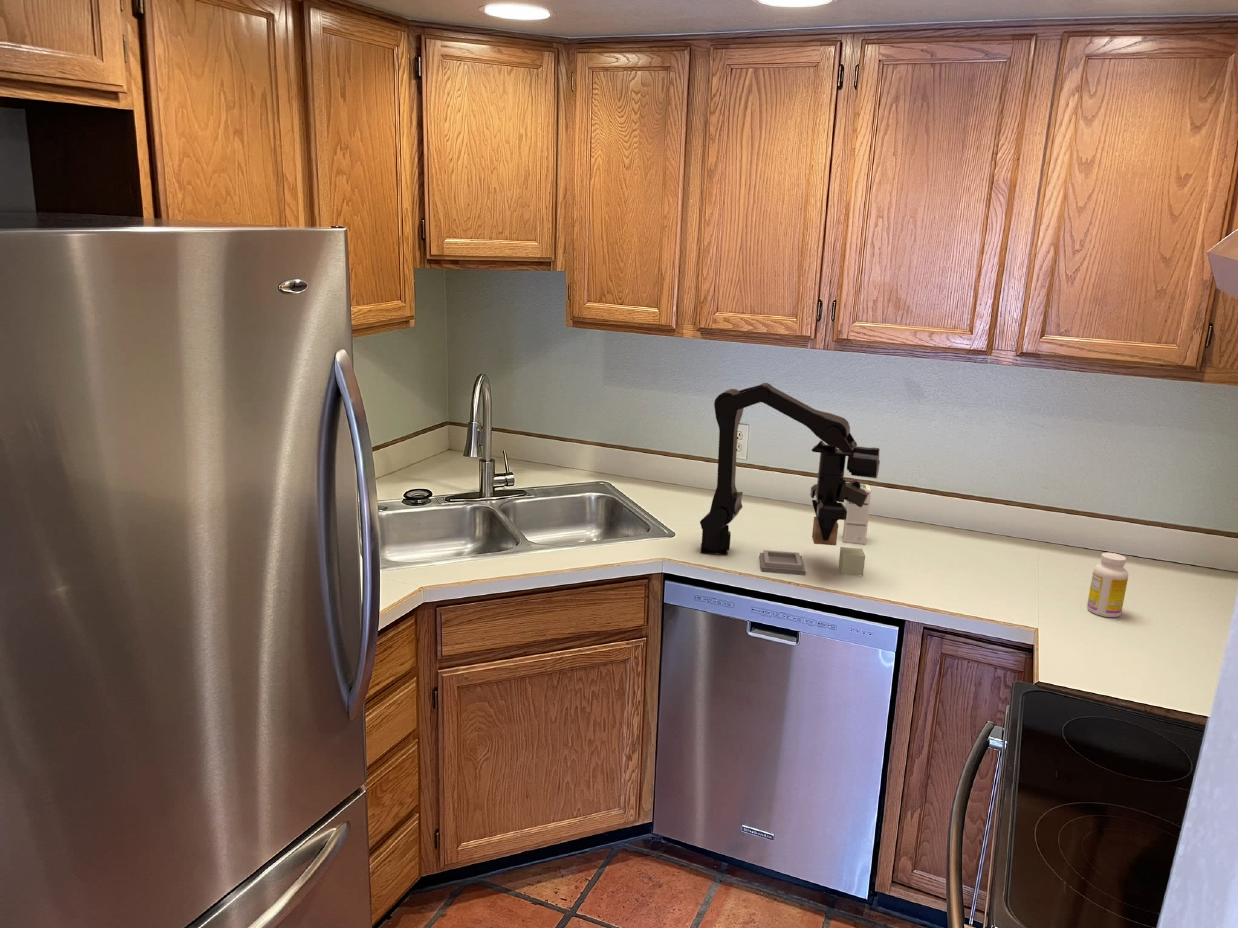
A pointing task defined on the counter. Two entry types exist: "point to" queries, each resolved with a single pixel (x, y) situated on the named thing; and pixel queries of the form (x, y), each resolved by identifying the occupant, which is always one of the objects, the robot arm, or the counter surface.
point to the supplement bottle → (1108, 586)
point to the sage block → (851, 561)
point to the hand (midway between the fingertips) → (824, 536)
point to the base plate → (782, 562)
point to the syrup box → (857, 520)
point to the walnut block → (818, 536)
